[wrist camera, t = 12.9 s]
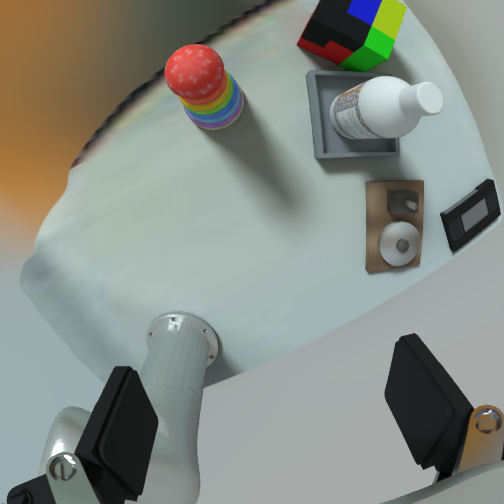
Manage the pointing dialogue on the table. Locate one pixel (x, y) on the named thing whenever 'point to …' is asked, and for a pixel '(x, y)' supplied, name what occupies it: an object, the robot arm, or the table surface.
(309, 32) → the puzzle toy
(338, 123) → the bath foam
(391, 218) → the board
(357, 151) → the tray
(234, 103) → the stacking toy
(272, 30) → the table surface
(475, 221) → the vhs tape
